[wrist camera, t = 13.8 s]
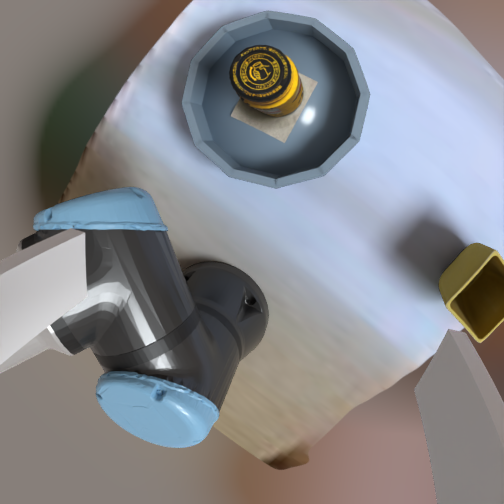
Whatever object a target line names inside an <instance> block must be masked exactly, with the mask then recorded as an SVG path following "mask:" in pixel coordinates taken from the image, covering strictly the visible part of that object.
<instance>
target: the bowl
mask: <svg viewBox="0 0 504 504" xmlns="http://www.w3.org/2000/svg"><path fill="white" fill-rule="evenodd" d="M254 45H269V46H273V47H275V48H277V49H279V50H281V51H282V53H283V54H285V55H286V56H288V57H289V58H290V59H291V60H292V61H293V63H294V64H295V66H296V68H297V70H298V73H300V74H302V75H305V76H307V77H309V78H311V79H313V80H315V81H317V82H318V83H317V85H316V87H315V89H314V91H313V92H312V94H311V96H310V98H309V100H308V101H307V103H306V105H305V107H304V109H303V111H302V112H301V114H300V116H299V118H298V120H297V121H296V123H295V125H294V127H293V129H292V131H291V133H290V134H289V136H288V138H287V140H286V142H285V143H283V142H282V141H280V140H278V139H276V138H274V137H272V136H270V135H268V134H266V133H264V132H262V131H260V130H258V129H256V128H254V127H252V126H250V125H248V124H246V123H244V122H242V121H240V120H238V119H235V118H233V117H231V114H232V112H233V110H234V108H235V106H236V105H237V103H238V101H239V99H240V98H239V96H238V95H237V93H236V91H235V90H234V89H233V87H232V85H231V81H230V79H229V71H230V66H231V64H232V62H233V59H234V58H235V56H236V55H237V54H239V53H240V52H241V51H242V50H244V49H245V48H247V47H251V46H254ZM369 98H370V92H369V89H368V86H367V83H366V80H365V77H364V75H363V72H362V69H361V66H360V64H359V61H358V58H357V56H356V53H355V51H354V49H353V48H352V47H351V46H350V45H349V44H347V43H346V42H345V41H344V40H343V39H341V38H340V37H339V36H338V35H336V34H335V33H334V32H333V31H331V30H330V29H329V28H328V27H326V26H325V25H324V24H322V23H321V22H320V21H318V20H317V19H315V18H311V17H306V16H300V15H294V14H288V13H281V12H274V11H264V12H261V13H258V14H255V15H252V16H249V17H246V18H243V19H240V20H238V21H235V22H232V23H229V24H227V25H224V26H222V27H221V28H220V29H219V30H218V31H217V32H216V33H215V34H214V35H213V36H212V37H211V39H210V40H209V41H208V42H207V43H206V44H205V45H204V46H203V47H202V48H201V50H200V51H199V52H198V53H197V54H196V55H195V56H194V58H193V59H192V60H191V63H190V67H189V72H188V76H187V80H186V85H185V89H184V94H183V99H182V107H183V110H184V113H185V116H186V119H187V122H188V126H189V129H190V132H191V135H192V138H193V141H194V144H195V146H196V147H197V148H198V149H199V150H200V151H201V152H202V153H203V154H205V155H206V156H207V157H208V158H209V159H210V160H211V161H212V162H213V163H214V164H215V165H216V166H218V167H219V168H220V169H221V170H222V171H223V172H224V173H225V174H226V175H227V176H228V177H231V178H235V179H239V180H243V181H247V182H251V183H256V184H260V185H263V186H267V187H271V188H275V189H277V188H280V187H284V186H288V185H292V184H295V183H299V182H303V181H307V180H311V179H315V178H319V177H322V176H325V175H326V174H327V173H328V172H329V171H330V170H331V169H332V168H333V167H334V166H335V165H336V164H337V163H338V162H339V161H340V160H341V159H342V158H343V157H344V156H345V155H346V154H347V153H348V152H349V151H350V150H351V149H352V148H353V147H354V146H355V145H356V144H357V143H358V142H359V141H360V137H361V133H362V128H363V124H364V120H365V116H366V111H367V107H368V102H369Z"/></svg>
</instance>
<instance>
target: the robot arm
mask: <svg viewBox="0 0 504 504" xmlns="http://www.w3.org/2000/svg"><path fill="white" fill-rule="evenodd" d="M33 228H34V230H36V231H37V232H36V233H34V234H32V235H30V236H28V237H26V238H24V239H22V240H21V241H20V242H19V244H18V247H17V250H16V253H15V254H13V255H11V256H9V257H7V258H5V259H3V260H1V261H0V373H2V372H4V371H6V370H8V369H10V368H12V367H14V366H16V365H18V364H20V363H22V362H24V361H26V360H28V359H30V358H32V357H34V356H36V355H38V354H40V353H41V352H43V351H45V350H47V349H55V350H57V351H60V352H62V353H65V354H67V355H70V356H72V355H75V354H77V353H79V352H81V351H83V350H84V349H86V348H89V347H90V348H91V349H92V351H93V353H94V354H95V356H96V358H97V360H98V361H99V363H100V365H101V366H102V368H103V370H104V372H105V373H104V374H103V375H101V376H100V378H99V379H98V384H97V386H96V397H97V400H98V402H99V404H100V406H101V408H102V409H103V410H104V412H105V413H106V414H107V415H108V416H109V417H110V418H111V419H112V420H113V421H114V422H116V423H117V424H118V425H119V426H121V427H122V428H123V429H125V430H126V431H128V432H129V433H131V434H133V435H135V436H137V437H139V438H141V439H143V440H145V441H148V442H151V443H153V444H157V445H161V446H166V447H174V448H184V447H190V446H193V445H196V444H198V443H200V442H201V441H202V440H203V439H204V438H205V437H206V436H207V435H208V433H209V431H210V429H211V427H212V425H213V424H214V422H215V421H216V420H217V419H218V417H219V411H220V409H221V406H222V404H223V401H224V399H225V396H226V394H227V391H228V389H229V386H230V384H231V381H232V379H233V376H234V374H235V372H236V369H237V367H238V364H239V362H240V361H241V360H242V359H243V358H244V357H245V356H247V355H248V354H249V353H250V352H251V351H253V350H254V349H255V348H256V347H257V345H258V344H259V343H260V341H261V340H262V338H263V336H264V333H265V330H266V327H267V324H268V317H269V312H268V305H267V302H266V299H265V297H264V294H263V293H262V291H261V289H260V288H259V286H258V285H257V284H256V283H255V282H254V281H253V280H252V279H251V278H250V277H249V276H248V275H247V274H245V273H244V272H242V271H241V270H239V269H237V268H235V267H233V266H230V265H227V264H224V263H219V262H203V263H199V264H195V265H193V266H191V267H189V268H187V269H186V270H184V271H183V272H182V270H181V267H180V265H179V262H178V260H177V257H176V255H175V252H174V250H173V247H172V245H171V242H170V240H169V237H168V234H167V232H166V231H168V228H167V226H166V225H164V224H163V222H162V220H161V217H160V215H159V213H158V210H157V208H156V206H155V203H154V201H153V199H152V197H151V196H150V194H149V193H148V192H147V191H145V190H143V189H141V188H137V187H124V188H117V189H111V190H106V191H102V192H97V193H93V194H89V195H85V196H82V197H78V198H75V199H72V200H68V201H65V202H63V203H60V204H57V205H55V206H54V207H51V208H49V209H46V210H43V211H41V212H39V213H38V214H36V215H35V217H34V225H33ZM414 391H415V394H416V398H417V402H418V406H419V410H420V414H421V419H422V423H423V427H424V432H425V436H426V441H427V446H428V451H429V457H430V462H431V467H432V473H433V479H434V485H435V492H436V499H437V504H504V403H503V401H502V399H501V397H500V395H499V393H498V391H497V389H496V387H495V385H494V383H493V381H492V379H491V377H490V376H489V373H488V372H487V370H486V368H485V366H484V364H483V362H482V361H481V359H480V357H479V356H478V354H477V352H476V350H475V348H474V347H473V345H472V343H471V342H470V340H469V338H468V336H467V335H466V333H464V332H460V331H455V330H451V329H448V331H447V333H446V335H445V337H444V339H443V341H442V342H441V344H440V346H439V348H438V350H437V352H436V353H435V355H434V357H433V359H432V361H431V363H430V364H429V366H428V367H427V369H426V371H425V373H424V374H423V376H422V377H421V379H420V381H419V383H418V384H417V386H416V387H415V389H414Z"/></svg>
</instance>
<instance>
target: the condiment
mask: <svg viewBox="0 0 504 504" xmlns="http://www.w3.org/2000/svg"><path fill="white" fill-rule="evenodd" d="M229 79H230V81H231V85H232V87H233V89H234V90H235V91H236V93H237V95H238V96H239V98H240V99H239V101H238V103H237V105H236V106H235V108H234V110H233V112H232V114H231V117H233V118H235V119H238V120H240V121H242V122H244V123H246V124H248V125H250V126H252V127H254V128H256V129H258V130H260V131H262V132H264V133H266V134H268V135H270V136H272V137H274V138H276V139H278V140H280V141H282V142H283V143H285V142H286V140H287V138H288V136H289V134H290V133H291V131H292V129H293V127H294V125H295V123H296V121H297V120H298V118H299V116H300V114H301V112H302V111H303V109H304V107H305V105H306V103H307V101H308V100H309V98H310V96H311V94H312V92H313V91H314V89H315V87H316V85H317V83H318V82H317V81H315V80H313V79H311V78H309V77H307V76H305V75H302V74H300V73H298V70H297V68H296V66H295V64H294V63H293V61H292V60H291V59H290V58H289V57H288V56H286V55H285V54H283V53H282V51H281V50H279V49H277V48H275V47H273V46H269V45H254V46H251V47H247V48H245V49H244V50H242V51H241V52H240V53H239V54H237V55H236V56H235V58H234V59H233V62H232V64H231V66H230V71H229Z"/></svg>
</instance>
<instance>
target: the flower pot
mask: <svg viewBox="0 0 504 504" xmlns="http://www.w3.org/2000/svg"><path fill="white" fill-rule="evenodd" d="M439 290H440V293H441V295H442V298H443V301H444V304H445V306H446V308H447V309H448V310H449V311H450V312H451V313H452V314H453V315H454V316H455V318H456V319H457V320H458V321H459V322H460V323H461V324H462V325H463V326H464V327H465V328H466V329H467V331H468V332H469V333H470V334H471V335H472V336H473V338H474V339H475V340H476V341H477V342H479V343H481V342H482V341H484V340H485V339H486V338H487V337H488V336H489V335H490V334H491V333H492V332H493V331H494V330H495V328H496V327H498V325H500V323H501V322H502V321H503V320H504V260H503V259H502V257H501V256H500V254H499V253H498V252H497V251H496V250H494V249H492V248H490V247H488V246H485V245H483V244H480V243H473V244H470V245H469V246H467V247H466V248H465V249H464V250H463V251H462V252H461V253H460V254H459V255H458V257H457V258H456V259H455V260H454V261H453V262H452V263H451V264H450V265H449V266H448V268H447V269H446V270H445V271H444V272H443V274H442V275H441V277H440V279H439Z"/></svg>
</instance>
